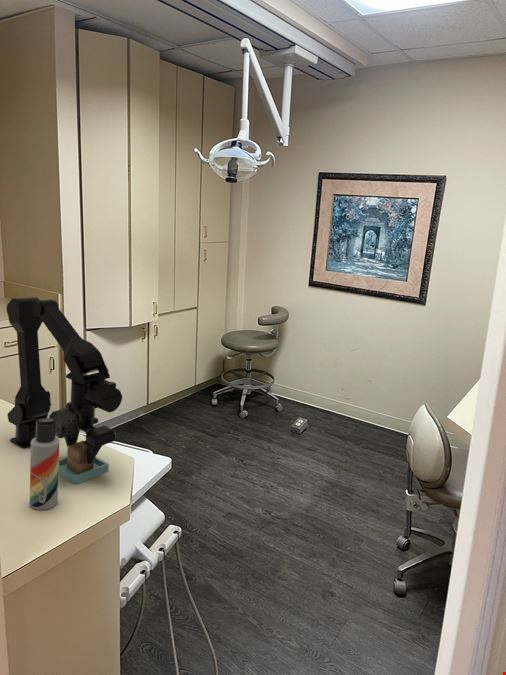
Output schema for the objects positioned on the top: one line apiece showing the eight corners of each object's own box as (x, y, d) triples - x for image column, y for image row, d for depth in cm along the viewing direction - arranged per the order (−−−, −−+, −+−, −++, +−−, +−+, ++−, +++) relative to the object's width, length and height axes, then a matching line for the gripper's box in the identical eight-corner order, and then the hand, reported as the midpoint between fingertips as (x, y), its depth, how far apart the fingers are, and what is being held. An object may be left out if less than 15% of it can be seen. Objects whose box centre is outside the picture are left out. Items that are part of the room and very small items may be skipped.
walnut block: (81, 462, 128) (82, 440, 127) (93, 468, 126) (94, 446, 124) (66, 467, 125) (67, 445, 123) (78, 474, 122) (79, 452, 121)
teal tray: (51, 469, 124) (51, 462, 123) (84, 457, 132) (84, 450, 131) (75, 484, 119) (75, 477, 118) (108, 470, 127) (108, 463, 126)
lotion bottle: (29, 512, 107) (31, 425, 102) (29, 497, 112) (31, 414, 107) (58, 508, 109) (61, 423, 104) (56, 494, 114) (59, 413, 109)
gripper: (30, 395, 119) (28, 455, 123) (79, 420, 109) (76, 484, 113) (70, 386, 128) (68, 441, 132) (119, 408, 119) (115, 467, 122)
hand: (80, 458), depth 125 cm, fingers open, 7 cm apart
